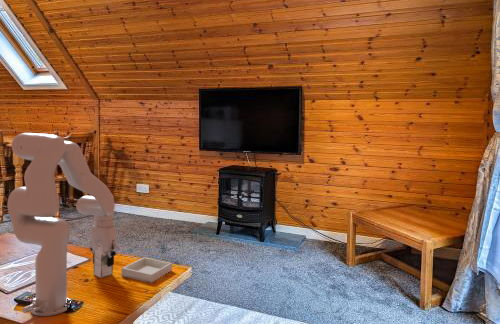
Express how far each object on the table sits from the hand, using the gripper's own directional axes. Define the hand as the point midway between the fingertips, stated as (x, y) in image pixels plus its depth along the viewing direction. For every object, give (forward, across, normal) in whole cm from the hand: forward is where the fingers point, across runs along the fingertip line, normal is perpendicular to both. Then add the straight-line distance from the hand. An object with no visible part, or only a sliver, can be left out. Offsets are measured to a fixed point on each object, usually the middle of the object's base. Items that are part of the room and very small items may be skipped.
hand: (103, 263), depth 163 cm
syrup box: (+5, 0, 0) cm, 5 cm away
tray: (+5, +15, +10) cm, 19 cm away
